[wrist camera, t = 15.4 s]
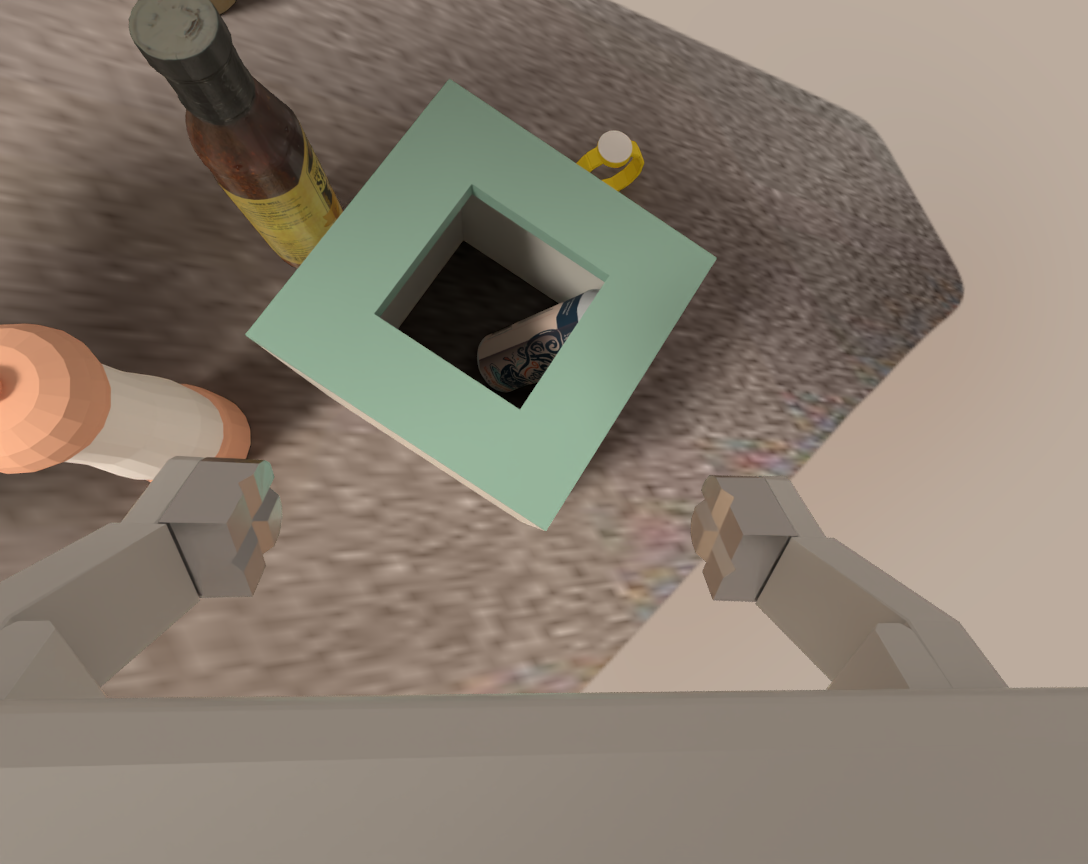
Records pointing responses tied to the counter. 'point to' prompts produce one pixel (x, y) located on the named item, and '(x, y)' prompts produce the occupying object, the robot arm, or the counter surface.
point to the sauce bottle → (238, 125)
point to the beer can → (529, 344)
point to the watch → (615, 158)
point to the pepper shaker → (102, 411)
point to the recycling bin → (521, 247)
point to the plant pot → (222, 5)
